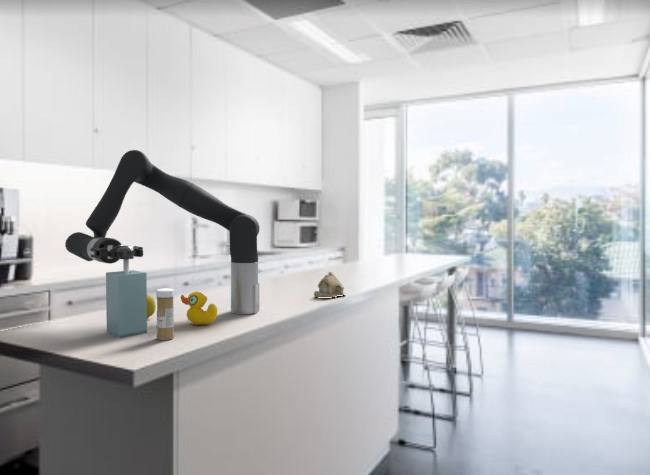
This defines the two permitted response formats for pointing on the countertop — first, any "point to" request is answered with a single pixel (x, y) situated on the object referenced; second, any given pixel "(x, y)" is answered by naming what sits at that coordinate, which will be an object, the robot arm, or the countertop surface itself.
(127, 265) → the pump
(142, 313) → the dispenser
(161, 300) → the sprinkles bottle
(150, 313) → the lemon
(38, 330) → the countertop surface
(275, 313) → the countertop surface
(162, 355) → the countertop surface
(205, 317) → the duckling
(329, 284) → the ceramic model
